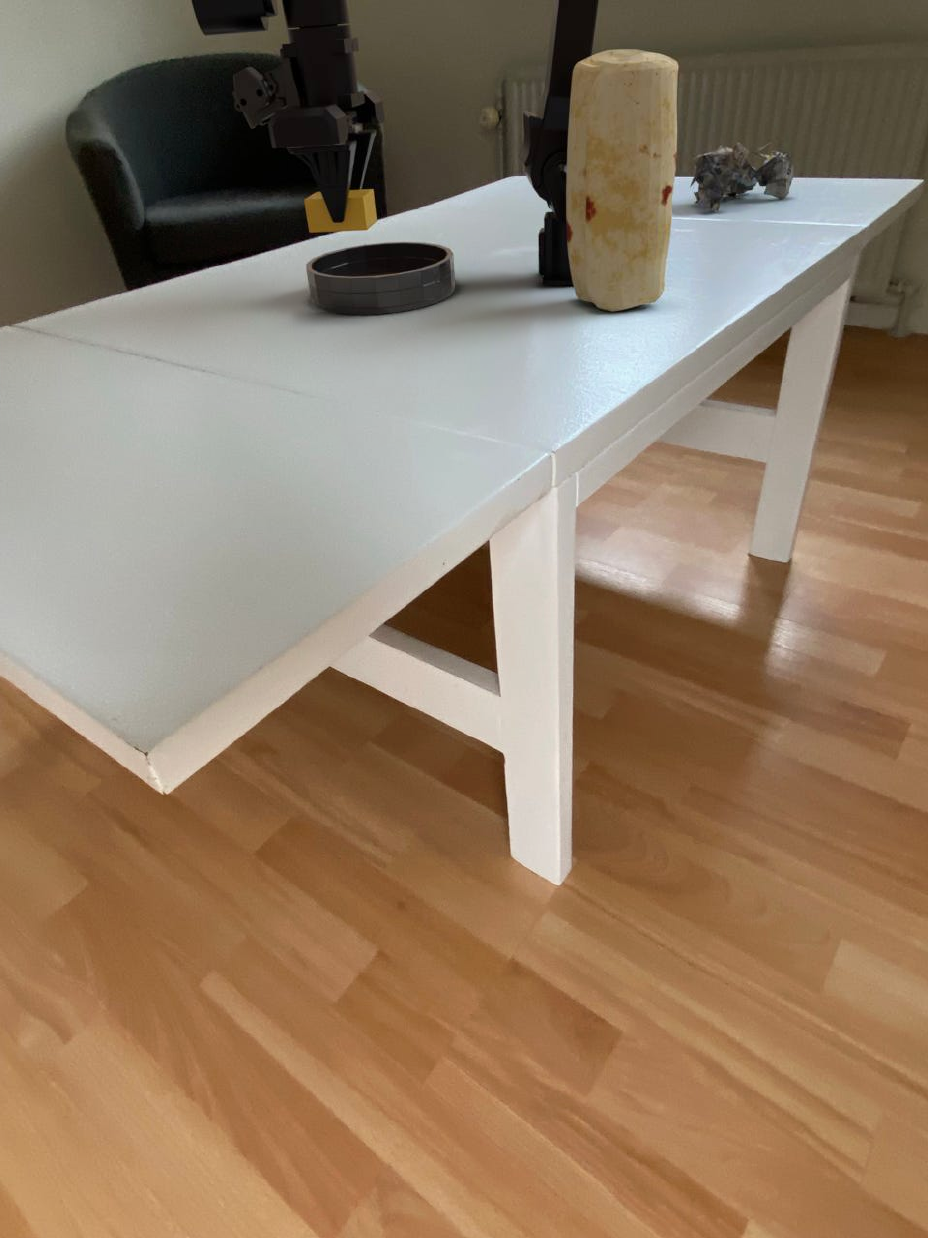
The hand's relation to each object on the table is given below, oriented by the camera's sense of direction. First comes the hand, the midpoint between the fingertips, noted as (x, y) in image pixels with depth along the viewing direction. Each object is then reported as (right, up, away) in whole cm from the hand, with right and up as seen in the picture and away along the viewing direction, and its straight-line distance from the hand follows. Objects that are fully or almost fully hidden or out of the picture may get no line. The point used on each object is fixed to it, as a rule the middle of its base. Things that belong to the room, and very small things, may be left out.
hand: (344, 217), depth 82 cm
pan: (+4, -6, +4) cm, 8 cm away
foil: (+50, +17, +30) cm, 61 cm away
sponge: (0, -1, +1) cm, 1 cm away
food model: (+26, -11, -4) cm, 29 cm away
